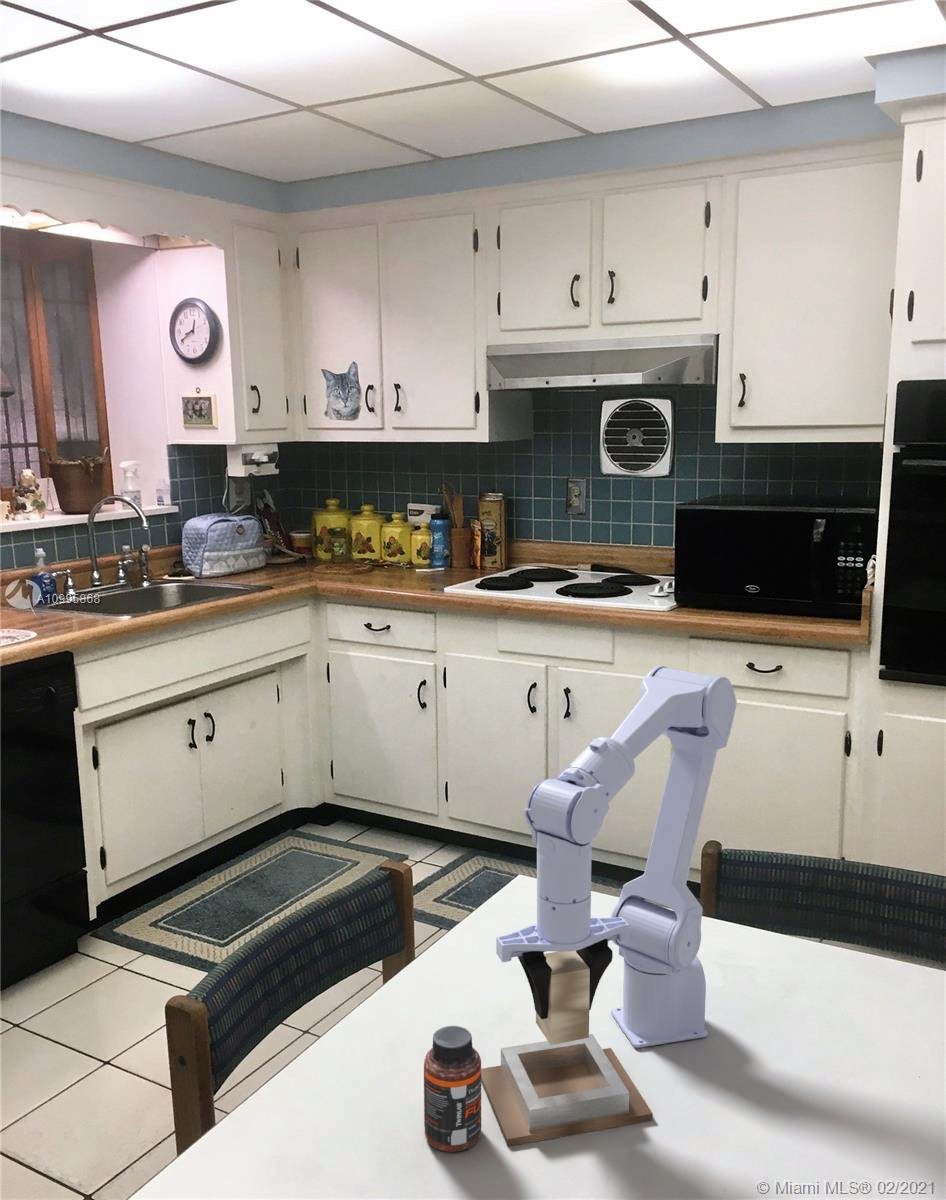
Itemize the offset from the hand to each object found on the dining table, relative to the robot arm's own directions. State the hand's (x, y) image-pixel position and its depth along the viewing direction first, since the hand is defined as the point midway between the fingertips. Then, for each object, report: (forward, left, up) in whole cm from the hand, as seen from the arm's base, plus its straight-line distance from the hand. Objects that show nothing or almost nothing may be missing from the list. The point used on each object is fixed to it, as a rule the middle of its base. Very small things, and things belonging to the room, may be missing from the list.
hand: (562, 1009), depth 112 cm
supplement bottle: (+13, +3, -11) cm, 17 cm away
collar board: (0, 0, -10) cm, 10 cm away
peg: (0, 0, -2) cm, 3 cm away
